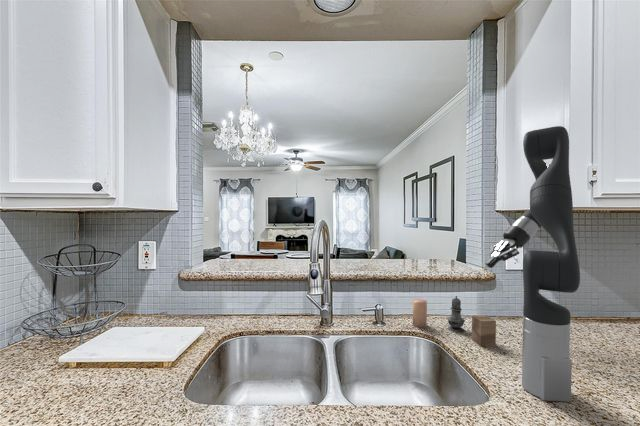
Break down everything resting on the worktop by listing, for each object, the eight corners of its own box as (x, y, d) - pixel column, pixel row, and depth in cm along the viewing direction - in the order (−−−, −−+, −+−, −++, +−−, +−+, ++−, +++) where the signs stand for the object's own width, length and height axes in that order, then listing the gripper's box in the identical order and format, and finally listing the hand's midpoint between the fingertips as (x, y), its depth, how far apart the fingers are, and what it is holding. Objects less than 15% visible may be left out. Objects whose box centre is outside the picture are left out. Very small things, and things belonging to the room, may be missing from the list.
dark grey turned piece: (462, 333, 112) (463, 299, 112) (444, 329, 116) (445, 296, 115) (466, 328, 117) (467, 295, 116) (449, 325, 120) (450, 292, 120)
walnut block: (495, 345, 103) (496, 320, 102) (480, 346, 102) (481, 321, 102) (486, 339, 108) (486, 315, 107) (471, 339, 107) (472, 315, 107)
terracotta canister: (428, 327, 117) (428, 303, 117) (414, 327, 118) (414, 302, 118) (424, 323, 122) (425, 299, 122) (411, 322, 123) (411, 298, 123)
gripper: (502, 223, 124) (471, 255, 123) (527, 225, 111) (492, 262, 110) (514, 237, 125) (484, 269, 124) (541, 241, 112) (507, 277, 111)
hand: (488, 266), depth 117 cm, fingers closed
